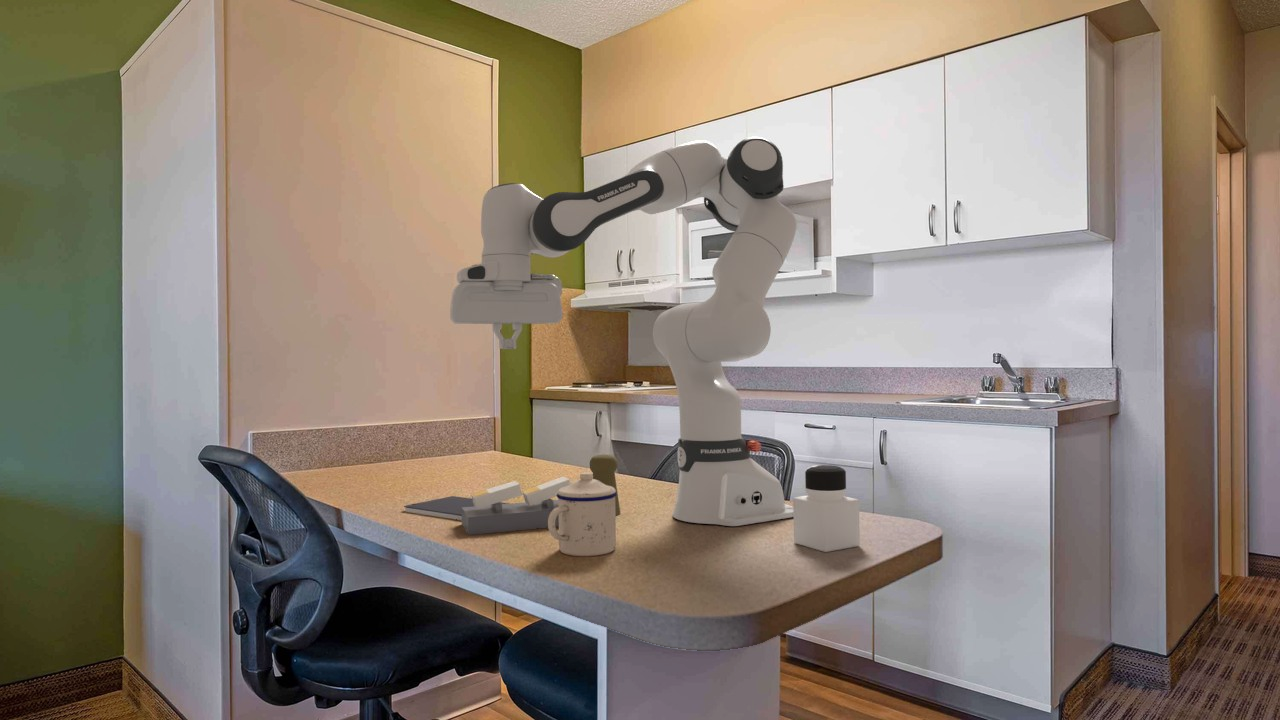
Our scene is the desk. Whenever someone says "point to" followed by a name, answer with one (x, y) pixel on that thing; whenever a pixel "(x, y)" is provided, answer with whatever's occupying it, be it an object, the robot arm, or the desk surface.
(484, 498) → the rocker
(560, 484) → the rocker
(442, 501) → the notebook
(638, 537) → the desk surface
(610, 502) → the teacup with lid
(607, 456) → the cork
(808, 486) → the medicine bottle
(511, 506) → the power strip
